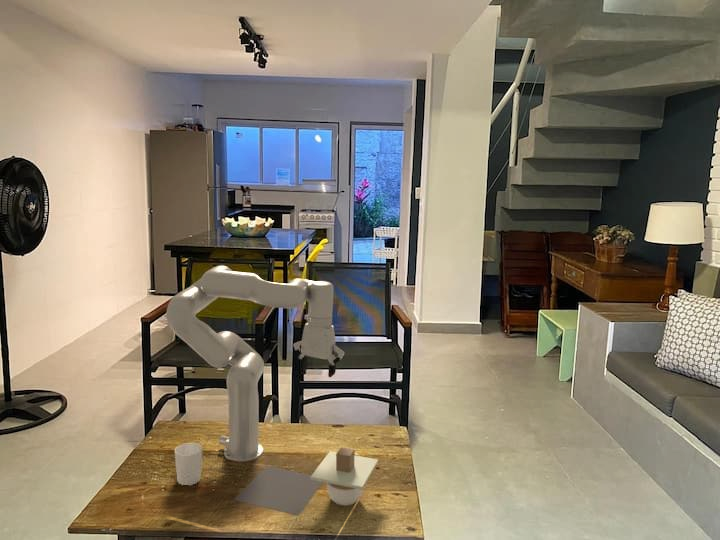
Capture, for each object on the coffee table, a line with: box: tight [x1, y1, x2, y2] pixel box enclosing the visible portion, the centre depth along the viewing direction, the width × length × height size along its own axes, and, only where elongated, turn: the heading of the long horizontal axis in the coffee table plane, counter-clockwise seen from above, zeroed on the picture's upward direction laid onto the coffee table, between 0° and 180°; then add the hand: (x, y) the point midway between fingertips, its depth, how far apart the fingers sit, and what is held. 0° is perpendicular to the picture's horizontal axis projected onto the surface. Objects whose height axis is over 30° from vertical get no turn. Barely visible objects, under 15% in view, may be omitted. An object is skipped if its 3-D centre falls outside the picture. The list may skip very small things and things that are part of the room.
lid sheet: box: [310, 446, 379, 490], centre depth 159 cm, size 15×15×6 cm
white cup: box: [174, 442, 203, 486], centre depth 168 cm, size 8×8×10 cm
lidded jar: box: [326, 483, 364, 507], centre depth 161 cm, size 11×11×9 cm
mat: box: [233, 465, 324, 517], centre depth 166 cm, size 20×20×1 cm
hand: (317, 372), depth 180 cm, fingers open, 9 cm apart
